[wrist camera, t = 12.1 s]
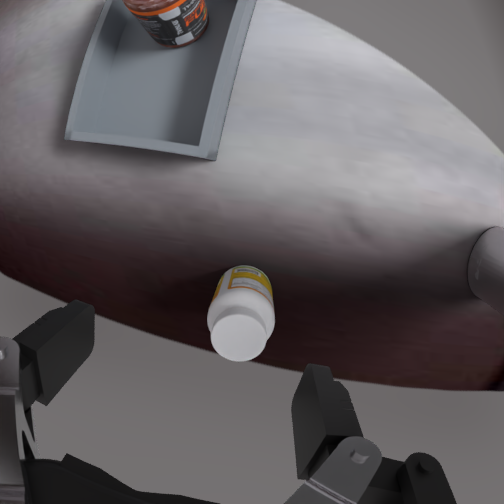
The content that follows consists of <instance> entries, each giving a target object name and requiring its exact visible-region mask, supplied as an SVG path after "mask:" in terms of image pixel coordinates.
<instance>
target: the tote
mask: <svg viewBox="0 0 504 504" xmlns="http://www.w3.org/2000/svg"><path fill="white" fill-rule="evenodd" d="M204 1H205V4H206V7H207V10H208V15H209V24H208V27H207V29H206V31H205V32H204V33H203V35H202V36H201V37H200V38H199V39H197V40H196V41H194V42H192V43H191V44H189V45H186V46H182V47H177V48H170V47H165V46H162V45H160V44H158V43H157V42H156V41H155V40H154V39H153V38H152V37H151V36H150V35H149V33H148V32H147V31H146V30H145V29H144V27H143V26H142V25H141V24H140V22H139V21H138V20H137V19H136V18H135V17H134V15H133V14H132V13H131V12H130V11H129V9H128V8H127V7H126V6H125V4H124V3H123V1H122V0H106V2H105V4H104V7H103V9H102V11H101V14H100V16H99V19H98V21H97V24H96V26H95V29H94V32H93V34H92V37H91V40H90V43H89V45H88V48H87V51H86V54H85V57H84V61H83V64H82V67H81V70H80V74H79V77H78V81H77V84H76V88H75V92H74V96H73V100H72V104H71V108H70V112H69V117H68V121H67V126H66V131H65V136H64V140H73V141H81V142H90V143H99V144H108V145H117V146H125V147H133V148H140V149H147V150H154V151H161V152H167V153H174V154H180V155H186V156H192V157H198V158H203V159H209V160H214V161H216V158H217V153H218V148H219V144H220V139H221V135H222V130H223V126H224V122H225V117H226V113H227V109H228V105H229V101H230V96H231V92H232V88H233V84H234V80H235V76H236V73H237V69H238V65H239V61H240V57H241V53H242V50H243V46H244V42H245V39H246V35H247V31H248V28H249V24H250V21H251V17H252V14H253V11H254V7H255V4H256V0H204Z"/></svg>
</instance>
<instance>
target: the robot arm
mask: <svg viewBox="0 0 504 504" xmlns="http://www.w3.org/2000/svg"><path fill="white" fill-rule="evenodd" d="M468 282H469V286H470V288H471V291H472V292H473V293H474V294H475V296H477V297H478V298H480V299H481V300H483V301H484V302H486V303H487V304H488V305H490V306H491V307H493V308H494V309H495V310H497V311H498V312H500V313H501V314H502V315H504V228H502V227H494V228H491V229H489V230H487V231H486V232H485V233H484V234H482V235H481V237H480V238H479V239H478V241H477V242H476V244H475V246H474V248H473V250H472V253H471V255H470V259H469V263H468ZM94 316H95V310H94V307H93V306H92V305H90V304H87V303H84V302H81V301H79V300H73V301H72V302H71V303H69V304H68V305H67V306H65V307H64V308H62V307H60V308H57V309H54V310H51V311H49V312H47V313H46V314H45V315H43V316H42V317H41V318H39V319H38V320H37V321H35V323H33V324H31V325H30V326H29V327H27V328H26V329H25V330H23V331H22V332H21V333H19V334H18V335H17V336H15V337H14V338H13V339H10V338H7V337H0V504H219V503H214V502H209V501H204V500H199V499H194V498H190V497H186V496H182V495H173V494H159V493H149V492H140V491H136V490H134V489H132V488H130V487H129V486H127V485H125V484H123V483H122V482H120V481H119V480H117V479H116V478H114V477H112V476H111V475H109V474H108V473H106V472H105V471H103V470H102V469H100V468H98V467H96V466H93V465H91V464H89V463H86V462H84V461H82V460H80V459H78V458H76V457H73V456H71V455H69V454H66V455H65V457H64V458H63V460H62V461H57V460H51V459H41V458H40V454H39V450H38V445H37V438H36V432H35V423H34V415H33V408H32V404H33V403H34V401H35V400H36V401H38V402H40V403H42V404H44V405H45V406H47V405H48V404H49V403H50V401H51V400H52V399H53V398H54V397H55V395H56V394H57V393H58V392H59V391H60V389H61V388H62V387H63V386H64V384H65V383H66V382H67V381H68V380H69V379H70V378H71V376H72V375H73V374H74V373H75V372H76V371H77V369H78V368H79V367H80V366H81V365H82V364H83V362H84V361H85V360H86V359H87V358H88V357H89V355H90V354H91V352H92V349H93V346H94V318H95V317H94ZM291 408H292V409H291V411H292V422H293V433H294V444H295V454H296V466H297V477H298V479H303V480H304V479H305V480H306V481H305V482H304V483H303V484H302V485H301V486H300V487H299V488H298V489H297V490H296V492H295V493H294V494H293V495H292V496H291V497H290V498H289V499H288V500H287V501H286V502H285V503H284V504H457V503H456V501H455V498H454V496H453V493H452V490H451V488H450V486H449V483H448V481H447V478H446V476H445V474H444V471H443V469H442V466H441V465H440V463H439V462H438V461H437V460H436V459H435V458H434V457H432V456H431V455H429V454H426V453H419V452H418V453H413V454H411V455H410V456H409V457H408V458H407V459H406V461H405V462H402V461H397V460H393V459H389V458H385V457H382V453H381V451H380V449H379V448H378V447H377V445H375V444H374V443H373V442H372V441H370V440H368V439H366V438H364V437H363V434H362V431H361V428H360V425H359V422H358V419H357V416H356V413H355V411H354V407H353V404H352V403H351V399H350V396H349V393H348V391H347V389H346V388H345V387H344V386H343V385H342V384H341V383H340V382H339V381H334V380H333V376H332V373H331V370H330V368H329V367H328V366H322V365H316V364H310V363H309V364H308V365H307V366H306V368H305V371H304V373H303V375H302V378H301V380H300V383H299V385H298V387H297V390H296V392H295V394H294V397H293V401H292V407H291Z"/></svg>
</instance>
